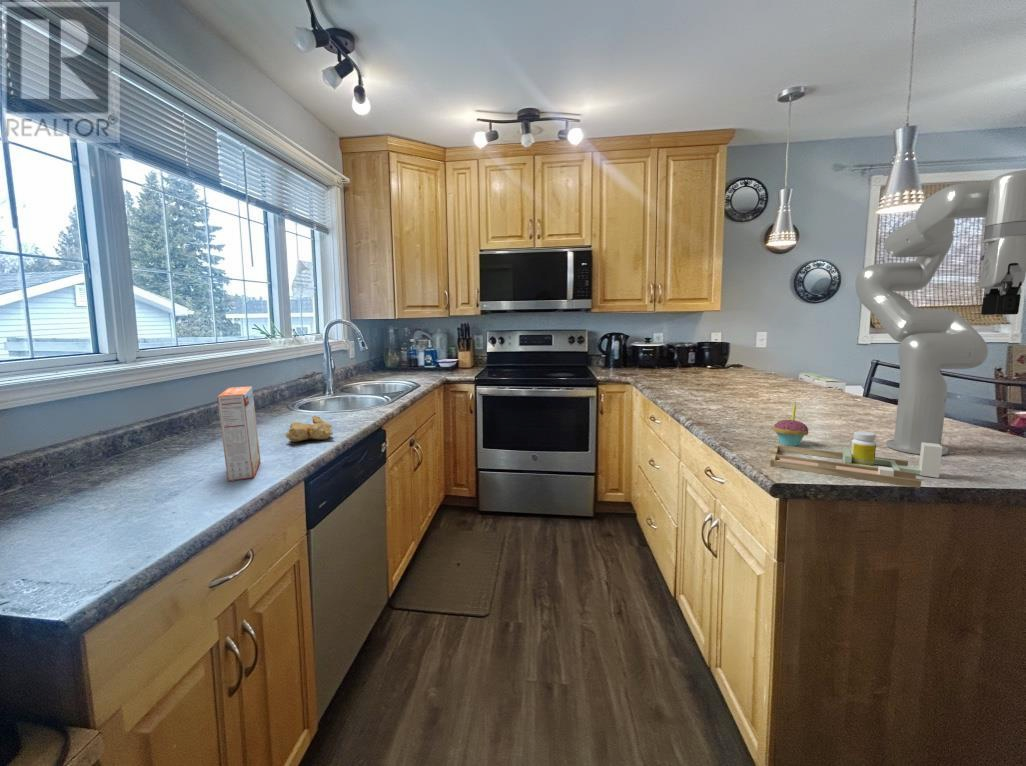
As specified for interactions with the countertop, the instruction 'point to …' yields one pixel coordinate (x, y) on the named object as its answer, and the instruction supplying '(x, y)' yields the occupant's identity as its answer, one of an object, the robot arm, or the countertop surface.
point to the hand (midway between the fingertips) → (998, 314)
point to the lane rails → (830, 467)
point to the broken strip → (849, 468)
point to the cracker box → (239, 432)
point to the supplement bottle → (863, 448)
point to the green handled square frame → (927, 466)
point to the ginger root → (309, 430)
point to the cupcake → (790, 430)
